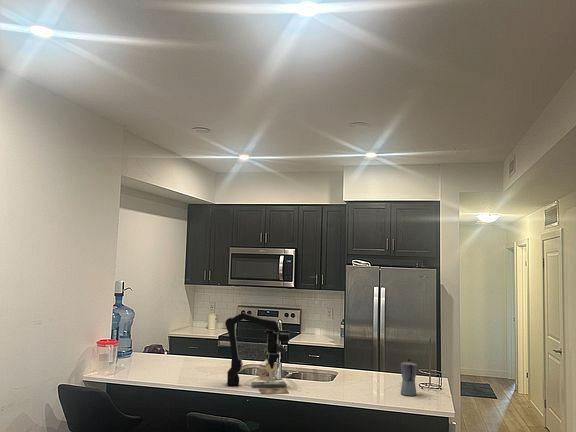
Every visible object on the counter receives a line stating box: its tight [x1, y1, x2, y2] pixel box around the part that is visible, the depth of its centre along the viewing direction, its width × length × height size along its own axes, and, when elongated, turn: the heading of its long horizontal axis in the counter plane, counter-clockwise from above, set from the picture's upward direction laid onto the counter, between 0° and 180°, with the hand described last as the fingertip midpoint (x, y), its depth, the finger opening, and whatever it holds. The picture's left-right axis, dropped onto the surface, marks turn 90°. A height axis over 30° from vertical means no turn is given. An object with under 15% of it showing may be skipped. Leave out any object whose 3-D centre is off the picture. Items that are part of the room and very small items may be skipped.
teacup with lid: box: [258, 358, 278, 381], centre depth 339 cm, size 12×9×12 cm
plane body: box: [250, 378, 287, 389], centre depth 318 cm, size 20×7×5 cm, turn 101°
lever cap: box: [266, 362, 278, 371], centre depth 319 cm, size 6×5×4 cm
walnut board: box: [258, 387, 290, 395], centre depth 306 cm, size 16×10×1 cm, turn 101°
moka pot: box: [400, 358, 418, 397], centre depth 310 cm, size 10×15×20 cm, turn 2°
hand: (271, 368), depth 319 cm, fingers closed on lever cap, 5 cm apart
